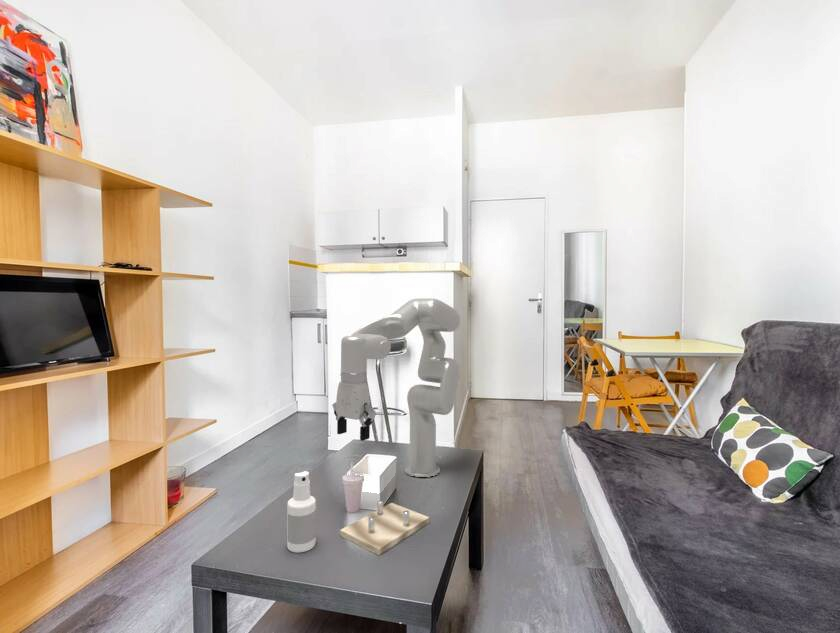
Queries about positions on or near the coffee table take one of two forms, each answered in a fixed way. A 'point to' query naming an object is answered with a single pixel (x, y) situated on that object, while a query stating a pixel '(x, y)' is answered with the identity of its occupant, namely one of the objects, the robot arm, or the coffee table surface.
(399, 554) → the coffee table surface
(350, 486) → the smoothie
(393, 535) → the pin board
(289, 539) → the spray bottle
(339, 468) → the coffee table surface
